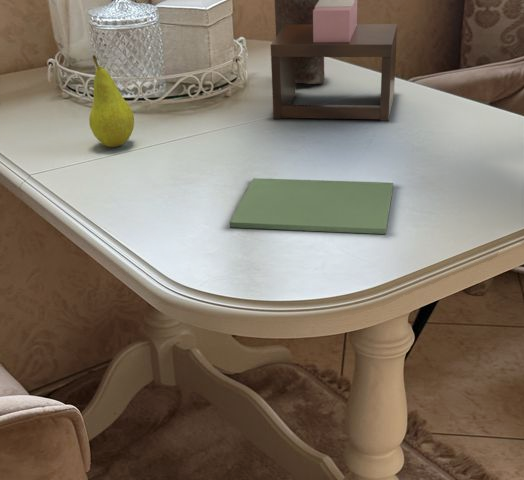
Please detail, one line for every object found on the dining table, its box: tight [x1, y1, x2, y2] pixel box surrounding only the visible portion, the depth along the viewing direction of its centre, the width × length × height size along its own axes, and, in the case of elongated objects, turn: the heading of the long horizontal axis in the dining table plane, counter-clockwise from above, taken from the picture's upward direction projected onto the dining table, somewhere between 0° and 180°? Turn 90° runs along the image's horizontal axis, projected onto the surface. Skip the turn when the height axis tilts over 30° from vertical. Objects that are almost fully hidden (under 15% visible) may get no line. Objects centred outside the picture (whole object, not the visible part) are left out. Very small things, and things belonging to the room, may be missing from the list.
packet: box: [313, 0, 358, 43], centre depth 107 cm, size 5×10×4 cm, turn 169°
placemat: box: [229, 177, 394, 235], centre depth 85 cm, size 16×12×1 cm
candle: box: [274, 0, 325, 85], centre depth 119 cm, size 8×7×20 cm
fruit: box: [88, 55, 135, 148], centre depth 101 cm, size 6×6×12 cm
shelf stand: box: [270, 23, 398, 122], centre depth 111 cm, size 16×12×10 cm
